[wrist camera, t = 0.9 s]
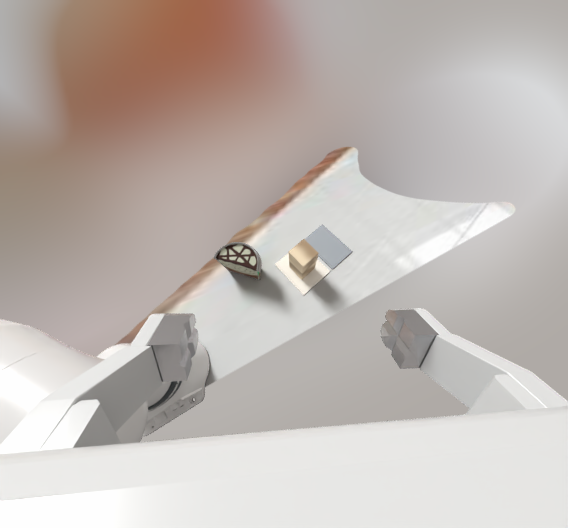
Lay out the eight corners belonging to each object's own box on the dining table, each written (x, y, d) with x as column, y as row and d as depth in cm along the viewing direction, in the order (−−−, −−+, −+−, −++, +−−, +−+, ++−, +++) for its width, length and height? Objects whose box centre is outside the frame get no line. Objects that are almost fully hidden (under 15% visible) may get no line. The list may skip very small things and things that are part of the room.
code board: (303, 295, 60) (303, 295, 59) (274, 264, 63) (274, 264, 63) (352, 251, 63) (352, 251, 63) (322, 224, 67) (322, 224, 67)
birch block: (301, 279, 61) (303, 266, 51) (289, 267, 62) (288, 251, 52) (314, 268, 62) (318, 252, 51) (302, 256, 63) (304, 238, 53)
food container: (271, 261, 63) (267, 247, 54) (264, 281, 61) (258, 270, 52) (232, 250, 65) (221, 234, 56) (224, 269, 63) (211, 256, 54)
